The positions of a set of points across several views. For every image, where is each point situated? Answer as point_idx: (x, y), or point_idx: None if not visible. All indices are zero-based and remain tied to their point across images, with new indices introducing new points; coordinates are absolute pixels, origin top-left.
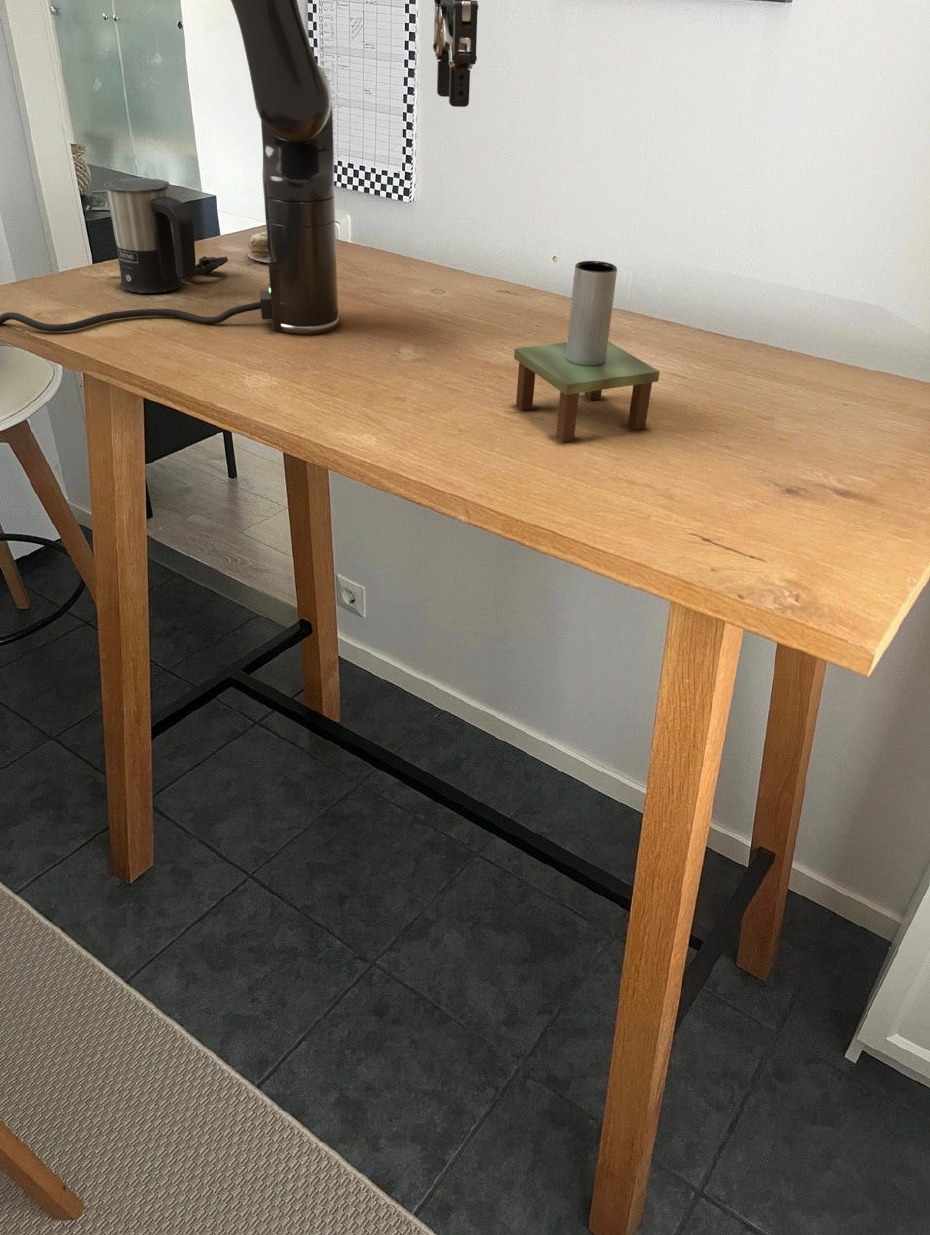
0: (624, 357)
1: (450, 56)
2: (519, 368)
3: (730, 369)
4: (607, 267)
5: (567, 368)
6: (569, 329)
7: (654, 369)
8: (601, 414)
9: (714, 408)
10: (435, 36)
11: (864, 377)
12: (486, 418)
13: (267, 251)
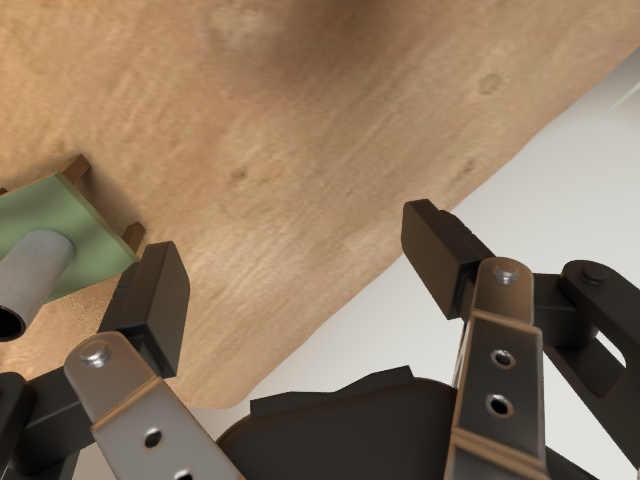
0: (75, 280)
1: (91, 375)
2: (61, 172)
3: (240, 327)
4: (16, 331)
5: (2, 228)
6: (18, 249)
7: (46, 301)
8: None
9: None
10: (491, 337)
11: (237, 389)
12: (28, 117)
13: None
